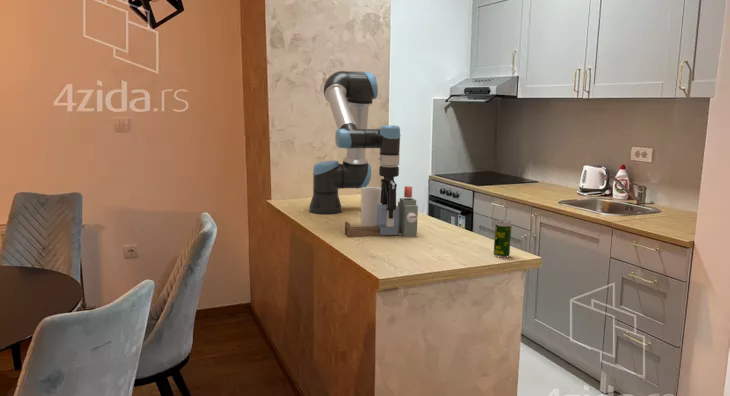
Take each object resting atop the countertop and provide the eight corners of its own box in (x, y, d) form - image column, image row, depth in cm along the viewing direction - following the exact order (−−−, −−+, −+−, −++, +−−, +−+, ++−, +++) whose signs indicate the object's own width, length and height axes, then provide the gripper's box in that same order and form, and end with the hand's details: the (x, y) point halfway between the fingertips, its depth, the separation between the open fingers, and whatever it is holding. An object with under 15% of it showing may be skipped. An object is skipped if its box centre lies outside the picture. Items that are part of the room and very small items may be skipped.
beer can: (497, 253, 195) (500, 219, 193) (512, 256, 192) (514, 221, 190) (490, 256, 191) (492, 221, 189) (505, 259, 188) (507, 224, 186)
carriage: (376, 231, 221) (377, 204, 219) (393, 230, 223) (394, 204, 221) (380, 235, 215) (381, 207, 213) (397, 234, 217) (398, 207, 215)
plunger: (403, 196, 219) (403, 186, 219) (410, 196, 220) (410, 186, 220) (405, 197, 217) (405, 187, 216) (412, 197, 217) (413, 187, 217)
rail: (344, 234, 218) (344, 221, 217) (396, 232, 222) (396, 220, 222) (347, 237, 213) (347, 224, 212) (400, 235, 218) (400, 222, 217)
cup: (378, 229, 228) (379, 190, 225) (358, 227, 229) (359, 189, 226) (381, 224, 236) (382, 187, 233) (362, 223, 237) (363, 186, 234)
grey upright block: (396, 230, 225) (397, 197, 223) (409, 230, 226) (410, 197, 224) (404, 237, 215) (406, 202, 212) (417, 236, 216) (419, 201, 214)
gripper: (373, 163, 223) (372, 219, 227) (386, 168, 204) (384, 230, 208) (391, 163, 225) (389, 219, 229) (406, 168, 206) (403, 229, 210)
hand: (387, 224), depth 218 cm, fingers open, 6 cm apart
